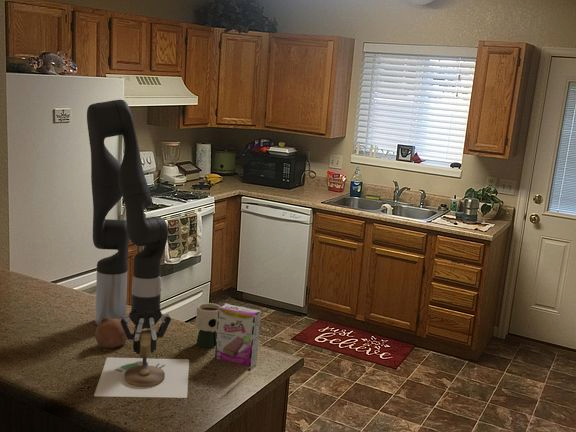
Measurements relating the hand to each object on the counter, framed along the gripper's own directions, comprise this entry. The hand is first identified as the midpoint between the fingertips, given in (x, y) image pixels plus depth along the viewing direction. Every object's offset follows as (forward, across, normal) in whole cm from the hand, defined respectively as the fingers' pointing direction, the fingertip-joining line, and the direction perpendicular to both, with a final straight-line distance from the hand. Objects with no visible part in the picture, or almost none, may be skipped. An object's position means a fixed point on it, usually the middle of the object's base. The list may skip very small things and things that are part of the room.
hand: (144, 351), depth 173 cm
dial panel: (+4, +1, +10) cm, 11 cm away
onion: (+4, +7, -14) cm, 16 cm away
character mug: (+5, -20, -8) cm, 22 cm away
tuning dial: (+2, +1, +7) cm, 7 cm away
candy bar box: (+5, -25, +3) cm, 26 cm away
